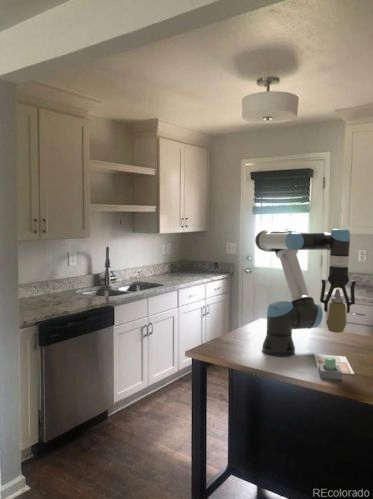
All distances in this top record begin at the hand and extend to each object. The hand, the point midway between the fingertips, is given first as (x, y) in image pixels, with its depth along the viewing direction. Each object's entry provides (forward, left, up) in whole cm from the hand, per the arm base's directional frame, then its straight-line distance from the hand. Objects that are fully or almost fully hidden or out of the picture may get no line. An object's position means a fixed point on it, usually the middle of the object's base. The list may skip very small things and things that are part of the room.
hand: (336, 319), depth 179 cm
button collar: (-3, -9, -21) cm, 23 cm away
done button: (-3, -9, -19) cm, 22 cm away
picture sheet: (0, +4, -21) cm, 21 cm away
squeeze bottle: (0, 0, -5) cm, 5 cm away
